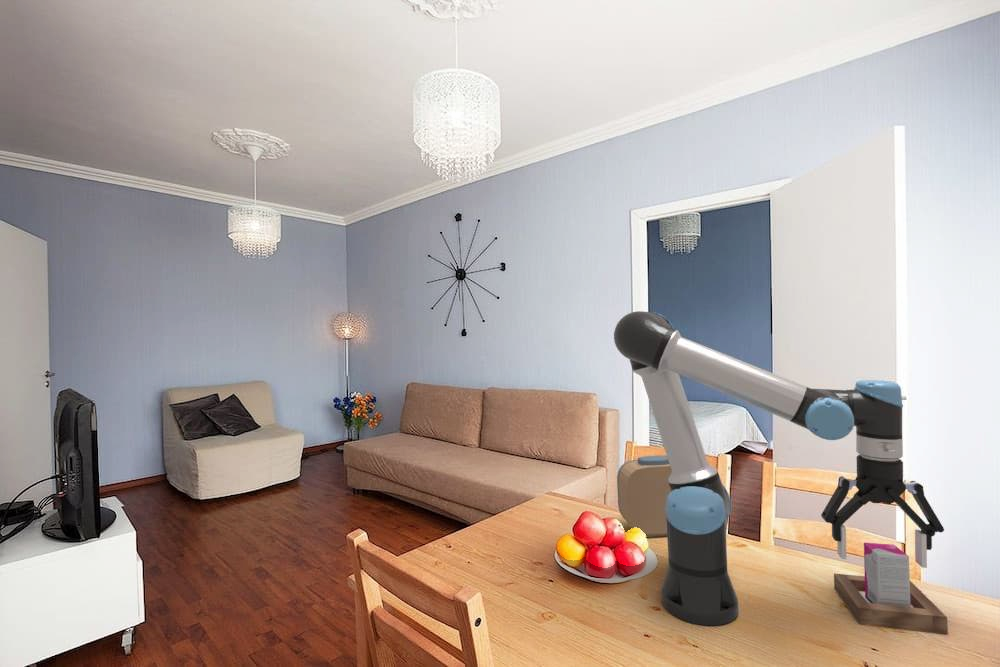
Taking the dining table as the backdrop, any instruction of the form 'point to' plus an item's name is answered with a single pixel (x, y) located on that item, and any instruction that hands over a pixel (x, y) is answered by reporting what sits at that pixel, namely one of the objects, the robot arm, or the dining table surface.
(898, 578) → the supplement box
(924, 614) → the socket block
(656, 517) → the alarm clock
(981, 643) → the dining table surface
